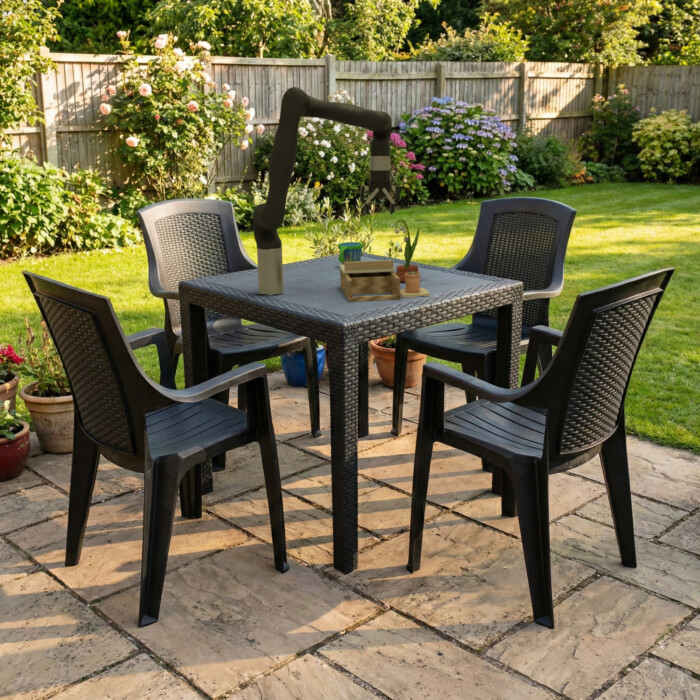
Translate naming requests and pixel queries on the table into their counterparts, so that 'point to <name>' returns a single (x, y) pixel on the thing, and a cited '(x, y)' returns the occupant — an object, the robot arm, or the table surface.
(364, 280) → the open wooden frame
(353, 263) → the lid
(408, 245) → the potted flower
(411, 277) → the clay pot
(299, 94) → the robot arm
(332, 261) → the table surface
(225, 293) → the table surface
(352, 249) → the snack cup
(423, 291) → the stone tile
